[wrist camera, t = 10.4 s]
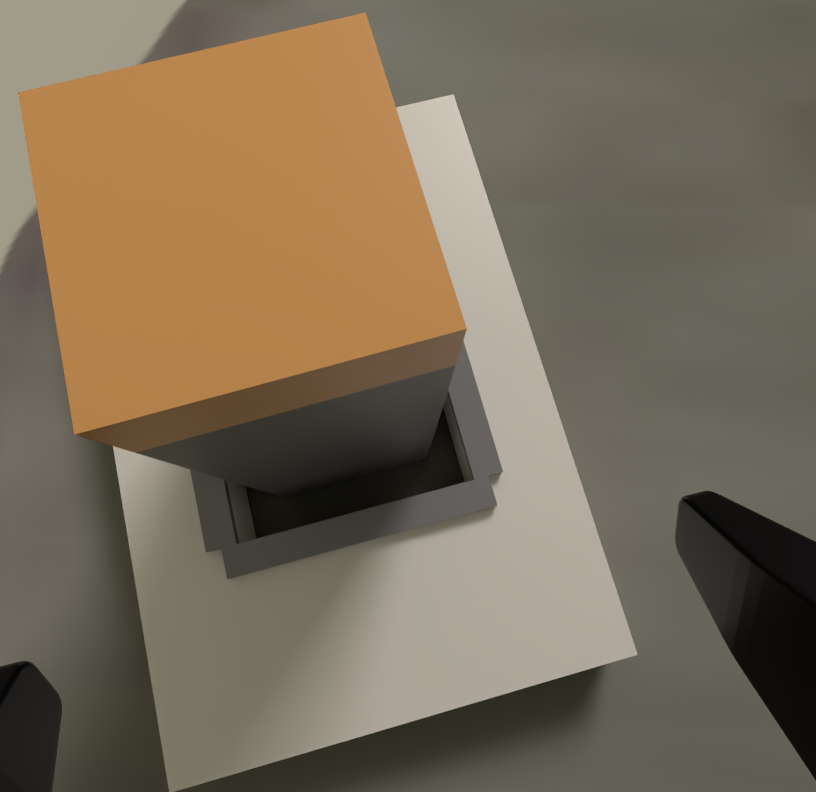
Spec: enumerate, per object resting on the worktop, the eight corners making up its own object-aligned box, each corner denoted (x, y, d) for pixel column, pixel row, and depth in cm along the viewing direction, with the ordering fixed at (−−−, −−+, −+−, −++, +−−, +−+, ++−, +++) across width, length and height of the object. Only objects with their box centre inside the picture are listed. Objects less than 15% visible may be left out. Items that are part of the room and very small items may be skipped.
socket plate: (611, 641, 17) (641, 656, 15) (196, 762, 17) (164, 798, 14) (448, 135, 21) (454, 87, 19) (102, 216, 20) (64, 176, 18)
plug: (427, 458, 18) (466, 329, 7) (286, 498, 18) (74, 435, 6) (388, 326, 19) (365, 12, 8) (254, 362, 19) (18, 93, 7)
